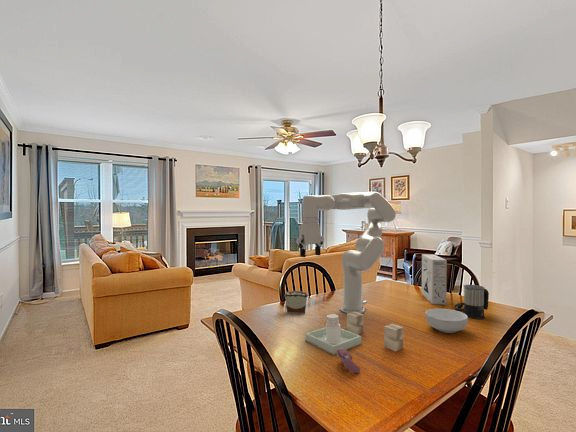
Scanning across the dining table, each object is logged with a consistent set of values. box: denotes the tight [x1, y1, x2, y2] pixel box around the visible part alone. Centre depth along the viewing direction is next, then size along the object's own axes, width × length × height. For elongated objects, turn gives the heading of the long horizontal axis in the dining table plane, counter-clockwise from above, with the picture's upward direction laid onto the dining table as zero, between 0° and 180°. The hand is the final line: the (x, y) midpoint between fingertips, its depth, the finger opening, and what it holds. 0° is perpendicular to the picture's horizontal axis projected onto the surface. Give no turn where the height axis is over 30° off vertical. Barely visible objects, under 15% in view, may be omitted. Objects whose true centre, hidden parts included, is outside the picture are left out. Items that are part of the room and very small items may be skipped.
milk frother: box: [454, 284, 490, 320], centre depth 162 cm, size 14×16×15 cm
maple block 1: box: [346, 311, 365, 336], centre depth 138 cm, size 5×5×8 cm
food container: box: [283, 290, 309, 315], centre depth 166 cm, size 12×6×10 cm, turn 84°
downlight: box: [323, 313, 343, 344], centre depth 127 cm, size 8×7×10 cm
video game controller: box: [336, 347, 361, 374], centre depth 107 cm, size 10×5×7 cm, turn 6°
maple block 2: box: [383, 323, 404, 352], centre depth 123 cm, size 5×5×8 cm
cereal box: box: [421, 253, 448, 306], centre depth 188 cm, size 22×8×25 cm, turn 172°
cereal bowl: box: [425, 308, 469, 334], centre depth 141 cm, size 17×17×7 cm
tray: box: [304, 327, 362, 356], centre depth 127 cm, size 16×16×3 cm
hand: (310, 256), depth 155 cm, fingers open, 9 cm apart
